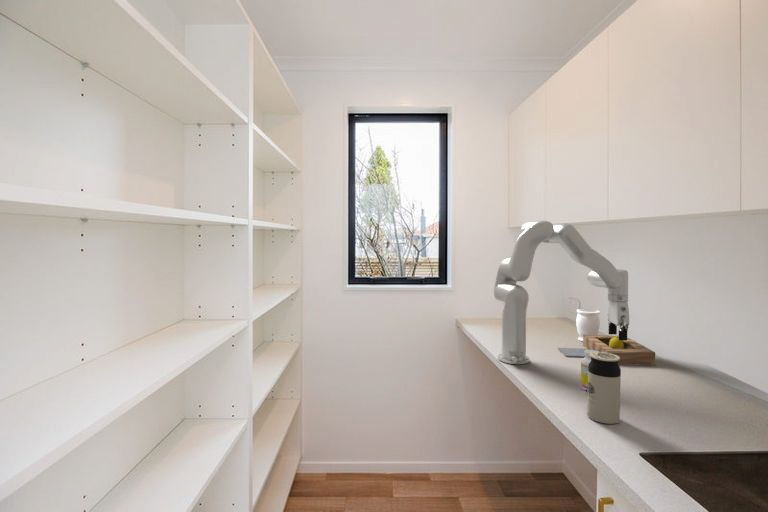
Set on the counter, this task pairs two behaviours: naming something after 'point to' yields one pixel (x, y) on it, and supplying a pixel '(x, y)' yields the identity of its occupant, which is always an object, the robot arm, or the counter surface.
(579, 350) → the grey mat
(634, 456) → the counter surface
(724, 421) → the counter surface
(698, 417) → the counter surface
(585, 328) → the jar
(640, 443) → the counter surface
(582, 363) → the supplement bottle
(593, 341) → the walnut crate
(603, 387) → the travel mug
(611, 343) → the lemon
